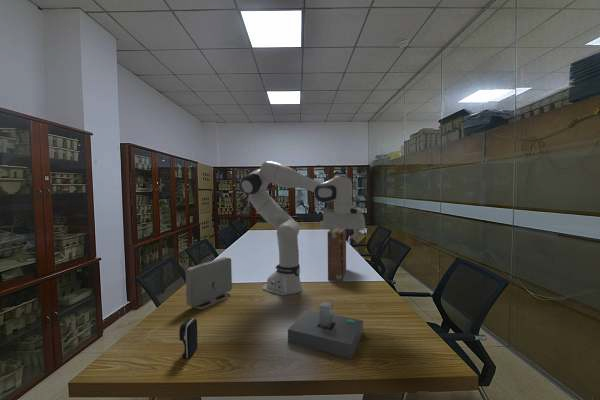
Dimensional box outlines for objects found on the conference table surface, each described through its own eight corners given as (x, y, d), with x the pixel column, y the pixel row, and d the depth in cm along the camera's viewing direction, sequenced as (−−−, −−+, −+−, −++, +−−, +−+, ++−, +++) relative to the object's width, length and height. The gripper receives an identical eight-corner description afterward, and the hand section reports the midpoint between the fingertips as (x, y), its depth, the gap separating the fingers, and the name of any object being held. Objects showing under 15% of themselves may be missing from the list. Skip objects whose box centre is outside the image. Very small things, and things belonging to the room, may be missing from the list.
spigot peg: (319, 336, 104) (319, 305, 103) (323, 331, 107) (323, 301, 107) (329, 338, 102) (329, 307, 101) (333, 333, 106) (332, 303, 105)
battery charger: (188, 346, 100) (187, 316, 99) (198, 347, 99) (197, 316, 99) (178, 359, 93) (177, 326, 92) (189, 359, 92) (188, 326, 92)
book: (333, 268, 193) (332, 226, 192) (346, 269, 191) (346, 226, 189) (327, 280, 168) (327, 232, 167) (342, 281, 166) (342, 232, 165)
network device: (194, 312, 127) (193, 270, 126) (183, 308, 132) (181, 267, 131) (235, 294, 149) (234, 257, 148) (223, 291, 153) (222, 255, 152)
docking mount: (288, 342, 102) (287, 328, 101) (307, 320, 118) (307, 308, 118) (351, 359, 91) (351, 343, 91) (363, 332, 108) (363, 319, 107)
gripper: (320, 209, 132) (320, 237, 133) (362, 210, 123) (362, 240, 124) (325, 208, 138) (325, 235, 138) (365, 209, 129) (365, 238, 129)
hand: (343, 238), depth 131 cm, fingers open, 8 cm apart
